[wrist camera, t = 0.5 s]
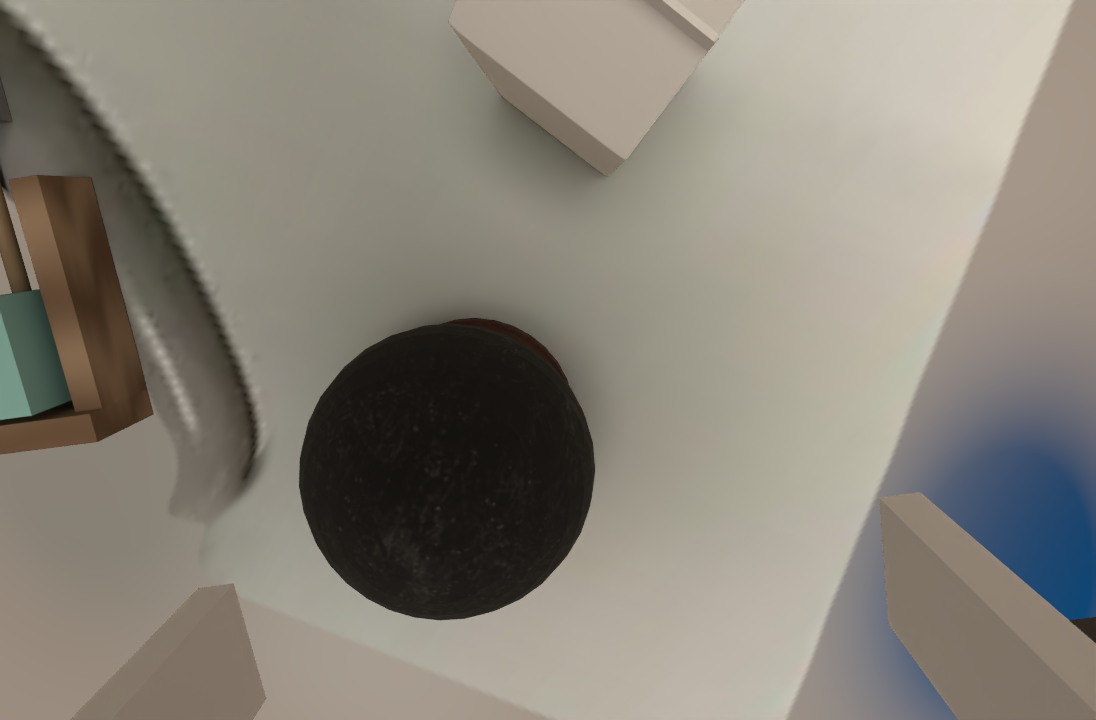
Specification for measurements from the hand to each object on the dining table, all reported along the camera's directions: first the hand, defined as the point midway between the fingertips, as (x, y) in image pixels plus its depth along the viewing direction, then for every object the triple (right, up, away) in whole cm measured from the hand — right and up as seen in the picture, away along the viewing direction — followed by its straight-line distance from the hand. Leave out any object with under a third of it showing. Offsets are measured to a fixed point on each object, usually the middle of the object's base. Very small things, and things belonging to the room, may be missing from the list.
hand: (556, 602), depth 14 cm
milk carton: (+2, +19, +23) cm, 30 cm away
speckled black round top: (-4, +2, +27) cm, 27 cm away
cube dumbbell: (-30, +12, +26) cm, 41 cm away
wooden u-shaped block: (-29, +8, +26) cm, 40 cm away
